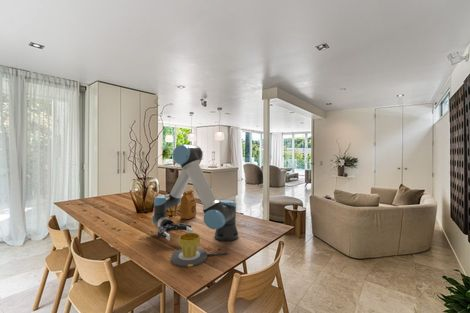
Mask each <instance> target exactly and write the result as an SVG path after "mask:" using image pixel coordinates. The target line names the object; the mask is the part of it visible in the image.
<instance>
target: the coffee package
mask: <svg viewBox="0 0 470 313" xmlns="http://www.w3.org/2000/svg"><path fill="white" fill-rule="evenodd" d="M193 192H194V190H193V189H192V190H187V191H185V192H184V191H183V193H182V195H181V197H180V198H181V201H180V207H179V208H180V211H179V212H180V219H183V220H185V219H186V220H189V219H191V218H195V217H196V216H197V201H196V198H195V196H194V194H193Z"/></svg>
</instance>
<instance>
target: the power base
mask: <svg viewBox="0 0 470 313" xmlns="http://www.w3.org/2000/svg"><path fill="white" fill-rule="evenodd" d="M228 254H229V252H228V251H225V252H214V253H208V252H207V251H206V250H205V249H203V248H201V247H197V252H196V255H195V256H194V257H190V258H186V257H184V256H183V253H182V248H179V249H177V250H176V251H173V253H172V254H171V257H170V258H171V260H170V261H171V263H172V264H174V266H178V267H182V268H191V267H195V266H199V265H201V264H203V263H205V262H206V260H207V258H208V257H212V256H219V255H220V256H222V255H228Z"/></svg>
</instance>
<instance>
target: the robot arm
mask: <svg viewBox="0 0 470 313" xmlns="http://www.w3.org/2000/svg"><path fill="white" fill-rule="evenodd" d="M203 156H204V155H203V150H202V148H201V147H199V145H197V144H186V143H185V144H183V143H182V144H179V145H177V146H176V147H175V148H174V149H173V153H172V159H173V161H174V163H176V164H178V165H180V167H181V171H180V174H179V176H178V177H177V179H176V181H175V184H174V185H173V187H172V189H171V191H170V193H169V194H168V196H167V197H166V196H165V195H157V196H155V197H154V200H153V216H152V217H151V222H152V224H154V226H156V227H157V228H158V229H157V237H158V238H160V237H161V239H166V240H167V241H171V235H170V232H171V231H172V232H173V231H186V233H194V230H193V229H192V225H191V224H187V223H182V222H178V223H175V222H174V221H173V220H172V219H170V217H169V218H168V217H167V210H168V209H170V208H174V207H176V206H177V205H179V204H181V198H182V196H183V194H184V191H185V189H186V187H187V185H188V183H189V182H190V181H191V184H192V185H193V187H194V190H195V192H196V194H197V196H198V198H199V199H200V203H202V206H203V208H202V212H203V222H204V225H206V227H207V228H208V229H210V230H215V232H214V238H215V240H217V241H221V242H231V241H235V240H237V239H238V238H239V231H238V228H237V225H236V224H237V223H236V222H237V221H236V220H237V215H236V214H237V203H236V202H235V201H234V200H226V199H225V200H223V199H221V200H219V199H217V197H216V195H215V193H214V192H213V190H212V188H211V186H210V182H208V180H207V177H206V175H205V174H204V172H203V170H202V168H201V165H200V164H201V161H202V159H203Z"/></svg>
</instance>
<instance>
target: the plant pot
mask: <svg viewBox="0 0 470 313" xmlns="http://www.w3.org/2000/svg"><path fill="white" fill-rule="evenodd" d="M200 238H201V237H200V234H198V233H196V232H193V233H188V232H186V233H182V234H181V235H179V236H178V241H179V242H178V243H179V246H180V247H181V248H180V249H182V253H183V256H184V257H186V258H190V257H194V256H195V255H196V252H197V248H199V247H198V246H199V243H200V240H201V239H200Z"/></svg>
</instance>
